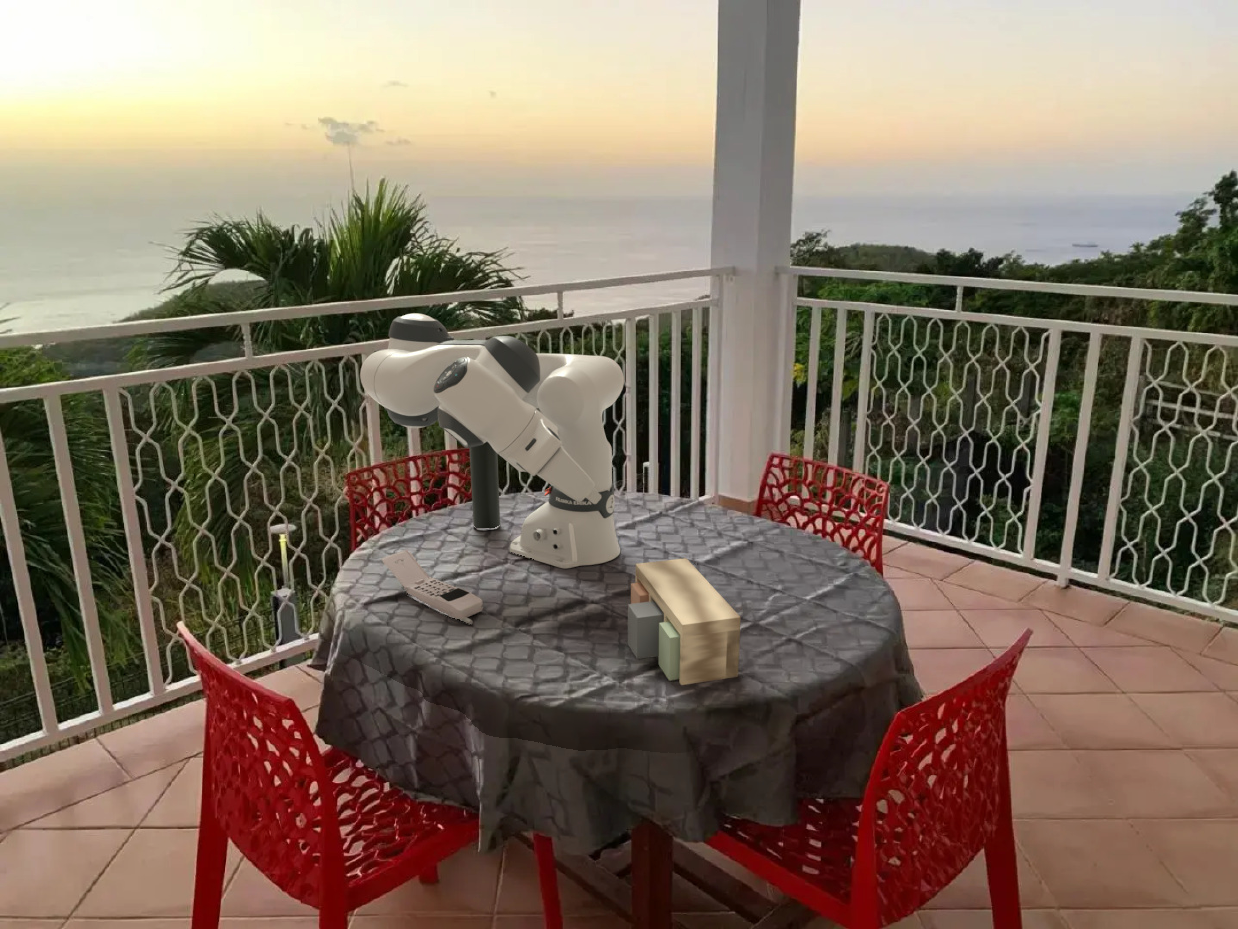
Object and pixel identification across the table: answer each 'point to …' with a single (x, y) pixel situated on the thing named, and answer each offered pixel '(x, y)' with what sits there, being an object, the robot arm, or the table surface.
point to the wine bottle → (485, 486)
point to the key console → (694, 619)
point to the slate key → (644, 628)
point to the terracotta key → (639, 593)
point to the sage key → (669, 650)
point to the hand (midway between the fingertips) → (596, 498)
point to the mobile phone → (432, 588)
